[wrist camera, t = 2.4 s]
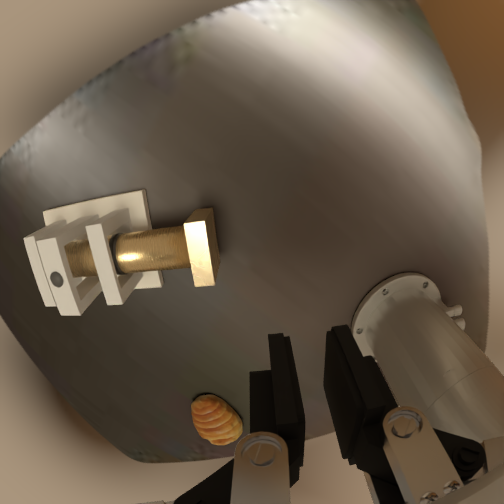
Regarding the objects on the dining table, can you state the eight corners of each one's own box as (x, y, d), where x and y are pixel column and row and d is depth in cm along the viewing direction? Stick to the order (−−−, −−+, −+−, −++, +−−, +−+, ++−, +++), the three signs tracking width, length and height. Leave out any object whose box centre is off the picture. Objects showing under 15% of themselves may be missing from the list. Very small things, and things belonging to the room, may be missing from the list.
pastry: (180, 394, 36) (176, 414, 33) (225, 387, 36) (224, 408, 32) (206, 430, 39) (204, 449, 36) (247, 424, 39) (247, 444, 35)
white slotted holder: (145, 189, 27) (103, 208, 18) (163, 282, 30) (136, 330, 22) (47, 209, 27) (-4, 233, 18) (69, 289, 30) (30, 328, 22)
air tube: (212, 207, 26) (204, 221, 21) (220, 261, 28) (214, 285, 23) (70, 228, 26) (43, 244, 21) (82, 274, 28) (59, 295, 23)
